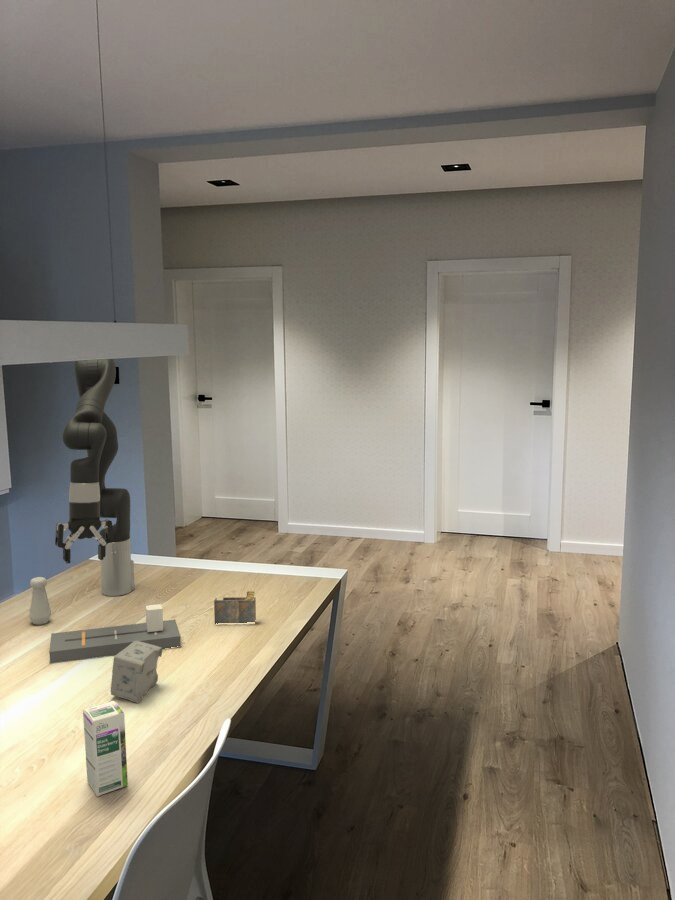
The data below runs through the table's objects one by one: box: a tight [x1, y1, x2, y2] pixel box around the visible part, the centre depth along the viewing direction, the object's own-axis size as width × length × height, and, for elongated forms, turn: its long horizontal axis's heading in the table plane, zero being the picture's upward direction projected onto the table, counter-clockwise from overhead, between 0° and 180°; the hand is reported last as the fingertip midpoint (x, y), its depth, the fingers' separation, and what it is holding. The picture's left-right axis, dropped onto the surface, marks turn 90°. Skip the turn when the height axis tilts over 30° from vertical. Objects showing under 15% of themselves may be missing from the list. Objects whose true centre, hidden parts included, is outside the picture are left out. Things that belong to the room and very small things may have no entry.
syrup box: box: [82, 700, 129, 797], centre depth 135 cm, size 6×6×14 cm
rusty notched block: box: [213, 589, 257, 625], centre depth 211 cm, size 11×3×10 cm, turn 91°
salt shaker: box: [28, 576, 52, 626], centre depth 210 cm, size 6×6×13 cm
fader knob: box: [145, 603, 164, 632], centre depth 198 cm, size 4×4×6 cm
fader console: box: [48, 619, 182, 664], centre depth 196 cm, size 32×12×3 cm, turn 108°
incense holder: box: [110, 640, 163, 704], centre depth 170 cm, size 10×8×10 cm
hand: (84, 561), depth 195 cm, fingers open, 8 cm apart
